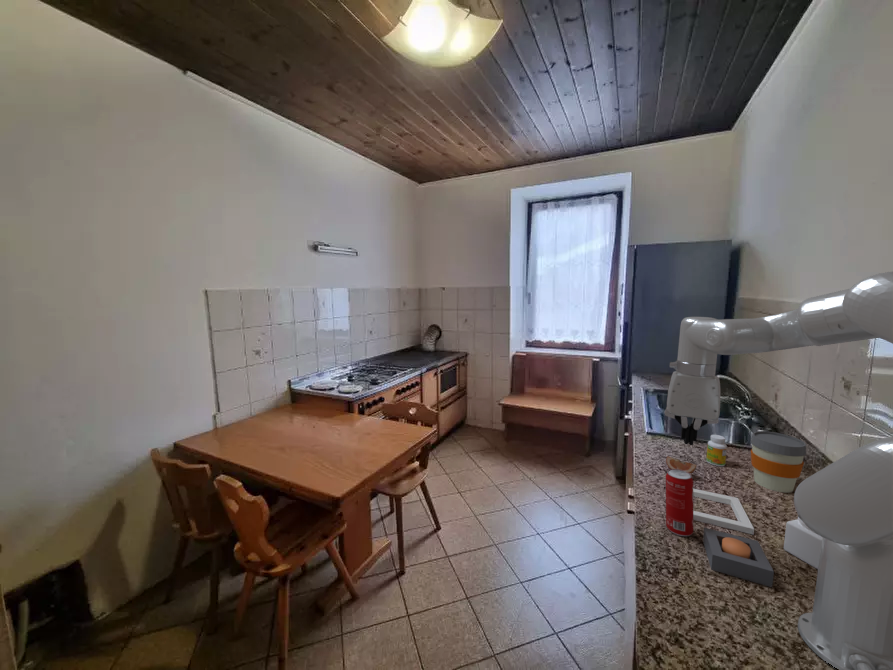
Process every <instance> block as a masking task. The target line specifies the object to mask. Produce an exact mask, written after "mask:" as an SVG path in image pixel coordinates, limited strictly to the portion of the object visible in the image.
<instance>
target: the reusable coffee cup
mask: <svg viewBox="0 0 893 670" xmlns="http://www.w3.org/2000/svg"><path fill="white" fill-rule="evenodd" d="M750 444H751V447H752V448H751V449H750V461H751V467H752V468H753V480H754V482H755V483H756V484H757V485H759V486H761V487H763V488H765V489H767V490H771V491H774V492H778V493H779V492H780V493H786V494H788V493H793V492H794V489H795V486H796V483H797V479H799V478H800V477H801V474H802V470H803V467H804V464H805V462H804V457H805V456H806V455H807V444H806V443H805V441H803V440H801V439H799V438H797V437H793V436H791V435H787V434H783V433H779V432H774V431H767V430H764V431H763V430H759V431H754V432H752V433H751V439H750Z"/></svg>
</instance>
